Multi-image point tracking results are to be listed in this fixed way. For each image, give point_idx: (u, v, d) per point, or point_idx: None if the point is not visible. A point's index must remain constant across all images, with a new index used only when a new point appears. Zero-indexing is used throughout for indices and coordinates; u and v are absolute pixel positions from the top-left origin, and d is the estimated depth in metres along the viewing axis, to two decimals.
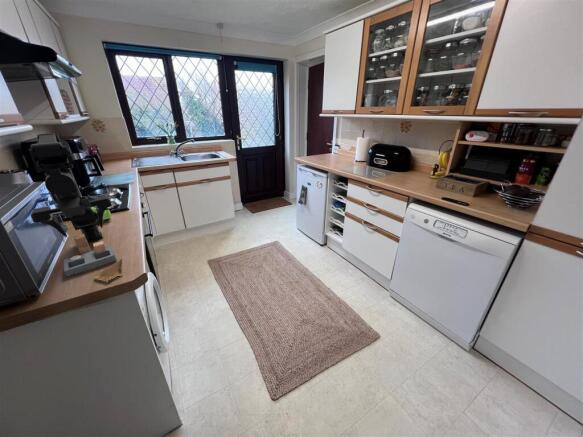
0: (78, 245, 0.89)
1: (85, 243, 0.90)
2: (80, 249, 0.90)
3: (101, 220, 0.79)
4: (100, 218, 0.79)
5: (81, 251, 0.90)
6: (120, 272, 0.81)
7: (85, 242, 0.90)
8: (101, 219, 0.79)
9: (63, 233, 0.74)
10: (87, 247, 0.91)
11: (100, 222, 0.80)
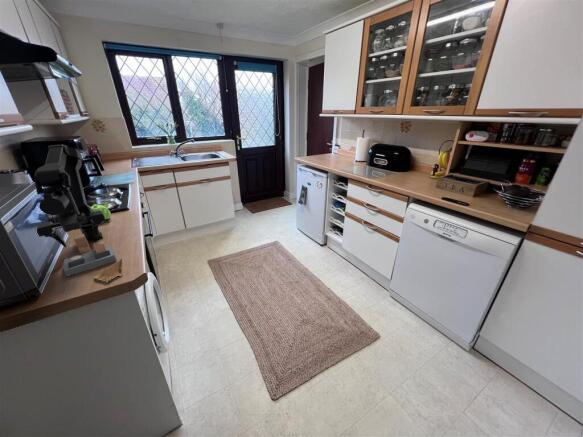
0: (78, 245, 0.89)
1: (85, 243, 0.90)
2: (80, 249, 0.90)
3: (96, 232, 0.92)
4: (95, 230, 0.91)
5: (81, 251, 0.90)
6: (120, 272, 0.81)
7: (85, 242, 0.90)
8: (96, 231, 0.91)
9: (63, 244, 0.86)
10: (87, 247, 0.91)
11: (95, 234, 0.92)
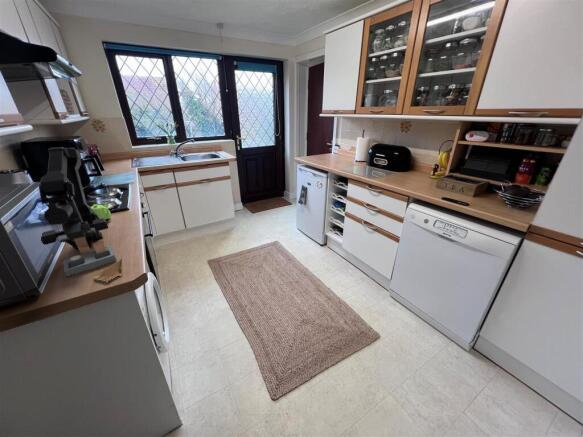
0: (78, 245, 0.89)
1: (85, 243, 0.90)
2: (80, 249, 0.90)
3: (90, 242, 0.91)
4: (89, 240, 0.91)
5: (81, 251, 0.90)
6: (120, 272, 0.81)
7: (85, 242, 0.90)
8: (90, 241, 0.91)
9: (77, 249, 0.89)
10: (87, 247, 0.91)
11: (89, 244, 0.91)
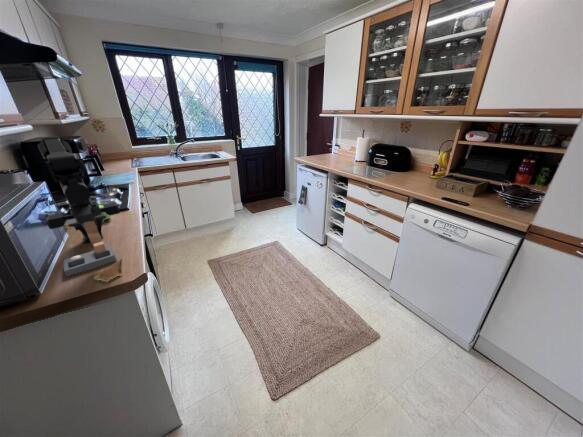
0: (87, 231, 0.81)
1: (95, 229, 0.82)
2: (89, 235, 0.82)
3: (100, 228, 0.84)
4: (99, 226, 0.83)
5: (90, 237, 0.82)
6: (120, 272, 0.81)
7: (95, 227, 0.82)
8: (100, 227, 0.84)
9: (86, 235, 0.82)
10: (97, 233, 0.83)
11: (99, 230, 0.84)
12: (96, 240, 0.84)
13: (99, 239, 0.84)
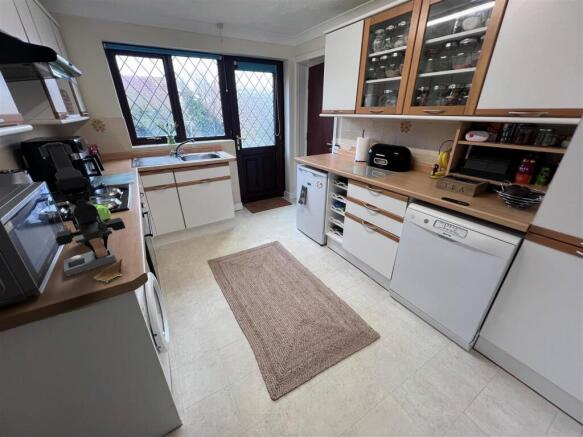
0: (94, 246, 0.84)
1: (101, 244, 0.85)
2: (96, 250, 0.85)
3: (106, 243, 0.86)
4: (105, 241, 0.86)
5: (97, 252, 0.85)
6: (120, 272, 0.81)
7: (101, 243, 0.85)
8: (106, 242, 0.86)
9: (93, 250, 0.85)
10: (103, 248, 0.86)
11: (105, 245, 0.86)
12: (102, 255, 0.86)
13: (105, 253, 0.87)
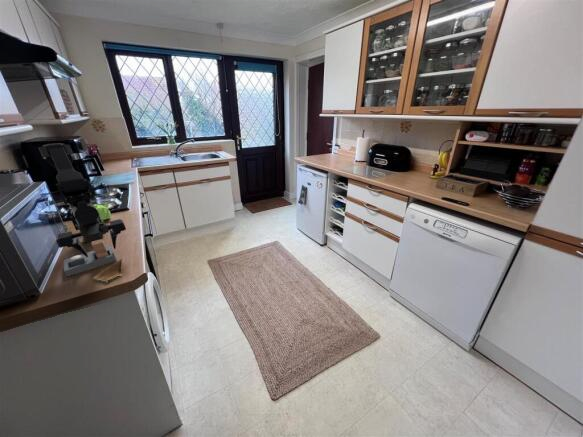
0: (96, 251, 0.85)
1: (103, 249, 0.86)
2: (98, 255, 0.86)
3: (114, 242, 0.88)
4: (114, 240, 0.88)
5: (99, 257, 0.86)
6: (120, 272, 0.81)
7: (103, 248, 0.86)
8: (114, 241, 0.88)
9: (85, 254, 0.83)
10: (105, 253, 0.87)
11: (113, 244, 0.88)
12: None
13: None
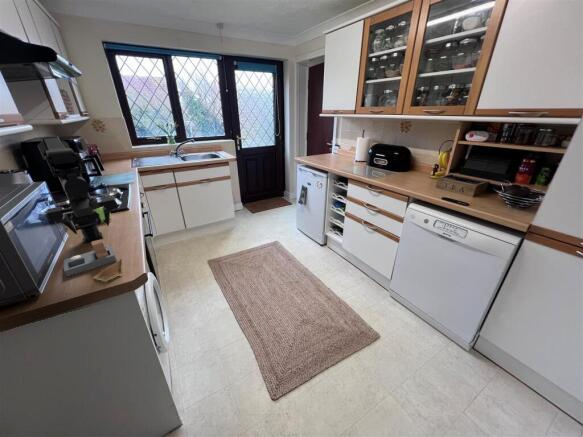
0: (96, 251, 0.85)
1: (103, 249, 0.86)
2: (98, 255, 0.86)
3: (107, 219, 0.87)
4: (107, 217, 0.87)
5: (99, 257, 0.86)
6: (120, 272, 0.81)
7: (103, 248, 0.86)
8: (107, 218, 0.87)
9: (74, 231, 0.82)
10: (105, 253, 0.87)
11: (107, 221, 0.88)
12: None
13: None
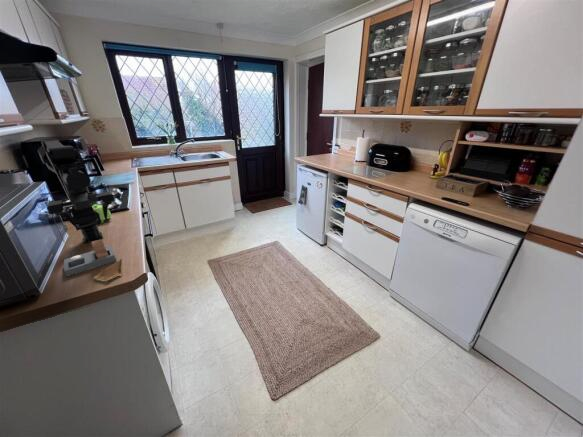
0: (96, 251, 0.85)
1: (103, 249, 0.86)
2: (98, 255, 0.86)
3: (106, 213, 0.92)
4: (105, 211, 0.91)
5: (99, 257, 0.86)
6: (120, 272, 0.81)
7: (103, 248, 0.86)
8: (106, 212, 0.91)
9: (73, 223, 0.86)
10: (105, 253, 0.87)
11: (105, 214, 0.92)
12: None
13: None
